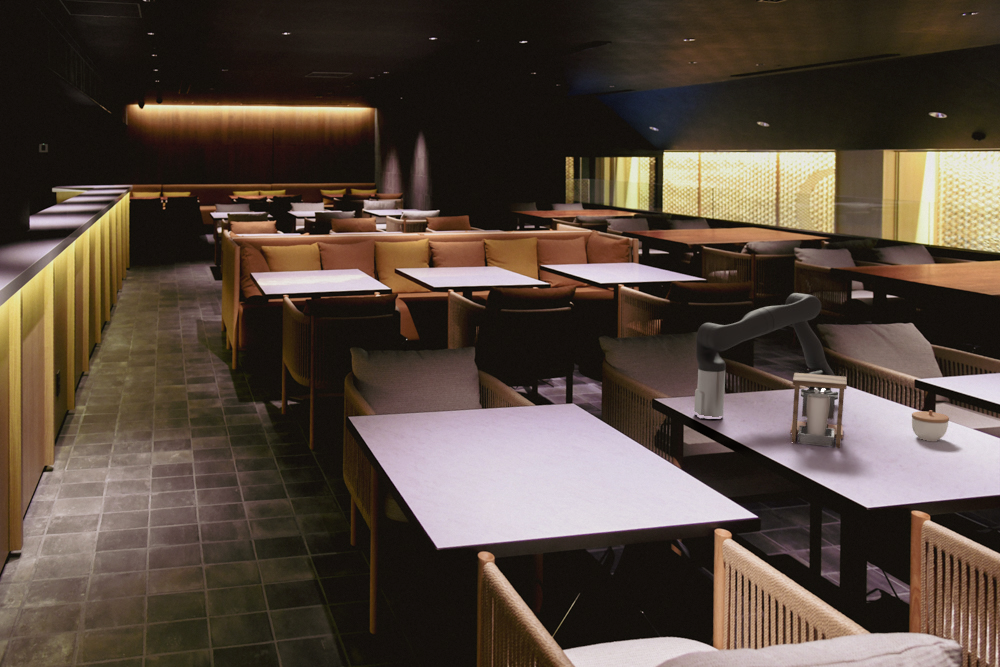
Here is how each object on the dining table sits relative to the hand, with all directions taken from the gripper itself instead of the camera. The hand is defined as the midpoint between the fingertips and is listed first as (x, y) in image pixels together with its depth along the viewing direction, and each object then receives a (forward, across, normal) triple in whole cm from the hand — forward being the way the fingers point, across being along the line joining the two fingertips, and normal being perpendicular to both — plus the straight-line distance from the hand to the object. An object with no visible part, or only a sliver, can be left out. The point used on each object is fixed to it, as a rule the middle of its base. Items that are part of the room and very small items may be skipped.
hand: (818, 399), depth 295 cm
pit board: (+12, 0, +8) cm, 15 cm away
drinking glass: (+24, 0, +8) cm, 25 cm away
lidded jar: (+7, +34, +8) cm, 36 cm away
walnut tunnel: (+24, 0, +8) cm, 25 cm away
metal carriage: (+17, 0, +8) cm, 18 cm away
